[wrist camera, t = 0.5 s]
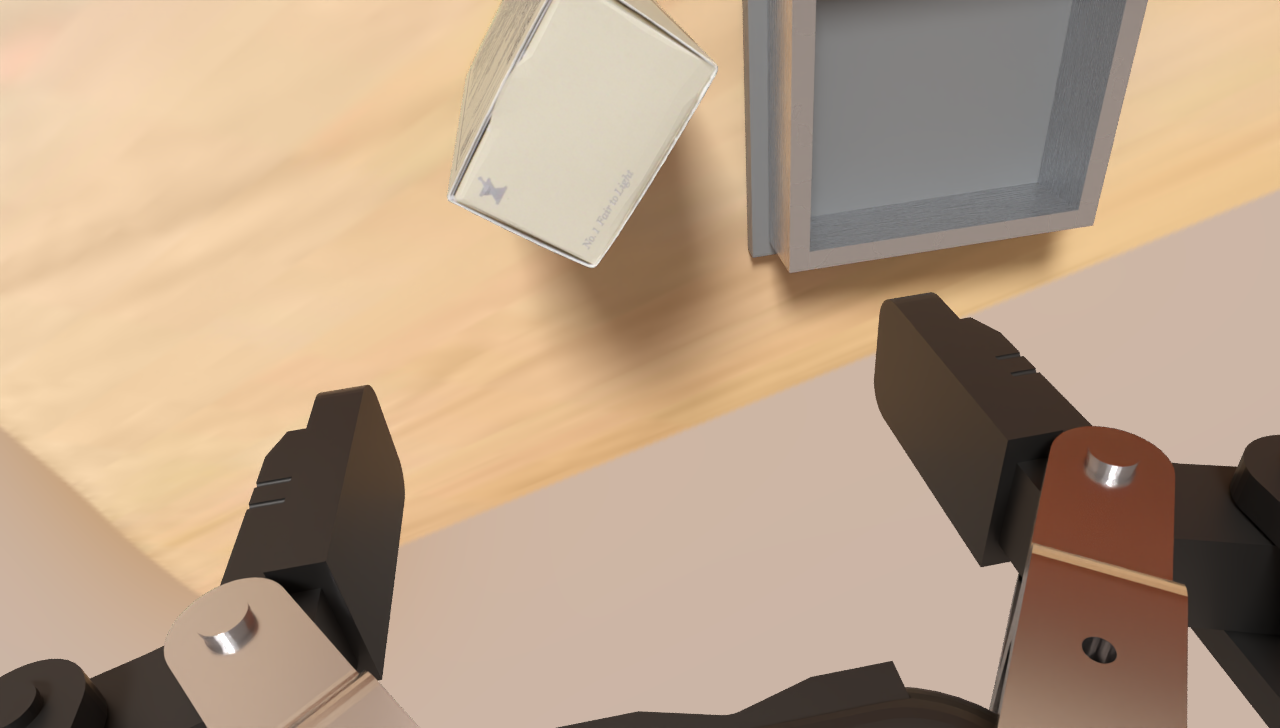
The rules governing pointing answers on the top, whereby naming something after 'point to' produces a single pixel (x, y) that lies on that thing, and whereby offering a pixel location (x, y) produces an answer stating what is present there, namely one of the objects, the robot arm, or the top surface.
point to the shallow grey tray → (1053, 203)
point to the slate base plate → (911, 100)
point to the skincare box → (573, 118)
